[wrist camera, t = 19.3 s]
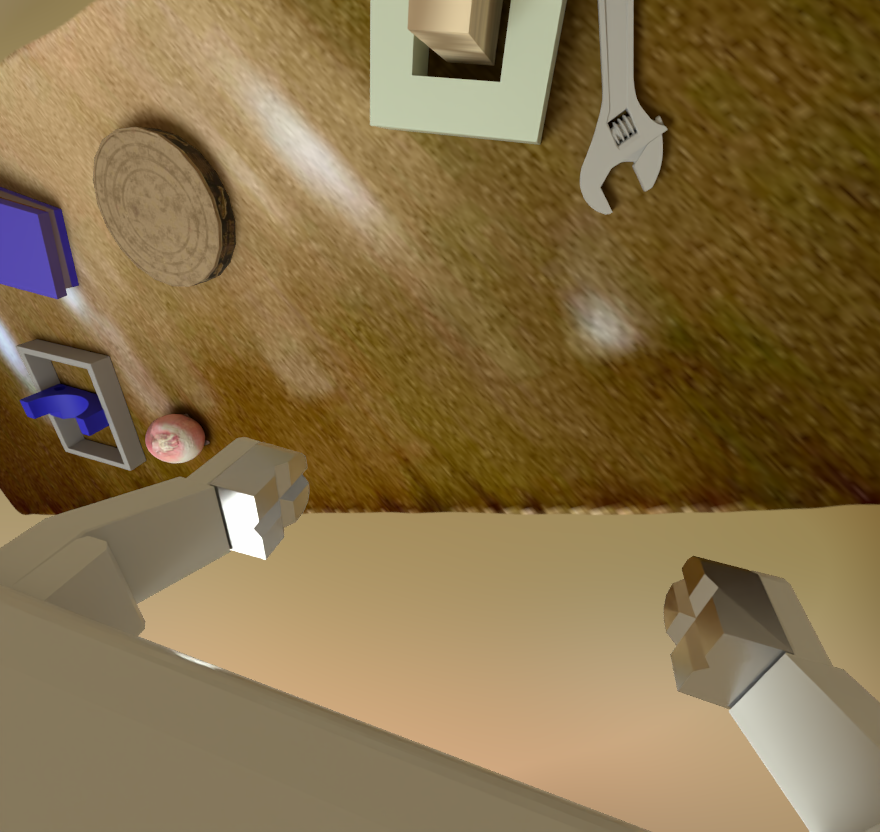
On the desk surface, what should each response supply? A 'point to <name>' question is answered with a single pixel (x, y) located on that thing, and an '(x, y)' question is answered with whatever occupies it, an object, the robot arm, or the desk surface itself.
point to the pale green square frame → (460, 100)
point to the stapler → (34, 246)
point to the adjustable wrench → (620, 111)
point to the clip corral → (108, 393)
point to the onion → (175, 438)
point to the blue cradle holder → (68, 407)
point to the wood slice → (164, 205)
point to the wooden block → (458, 28)
